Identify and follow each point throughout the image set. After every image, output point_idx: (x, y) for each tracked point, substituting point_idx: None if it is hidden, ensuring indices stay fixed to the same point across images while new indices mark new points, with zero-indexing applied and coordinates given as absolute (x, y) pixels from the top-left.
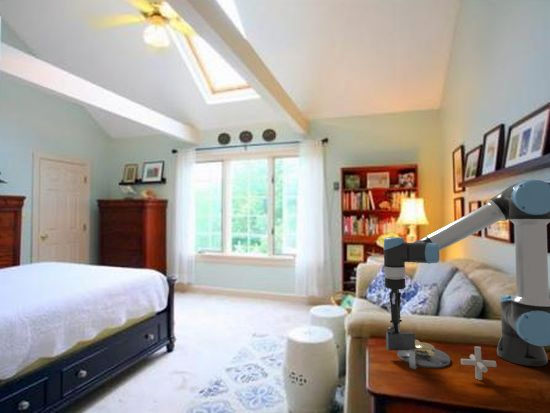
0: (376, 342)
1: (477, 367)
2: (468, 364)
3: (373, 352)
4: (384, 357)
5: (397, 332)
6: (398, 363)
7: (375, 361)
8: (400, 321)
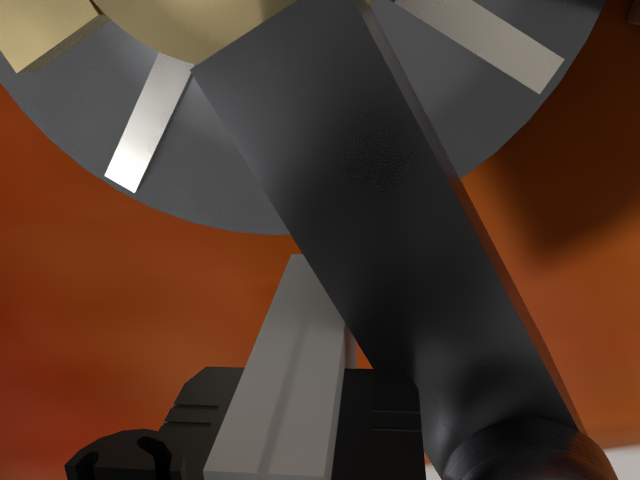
0: (76, 449)
1: None
2: None
3: None
4: None
5: (426, 375)
6: (595, 182)
7: (621, 409)
8: (184, 477)
